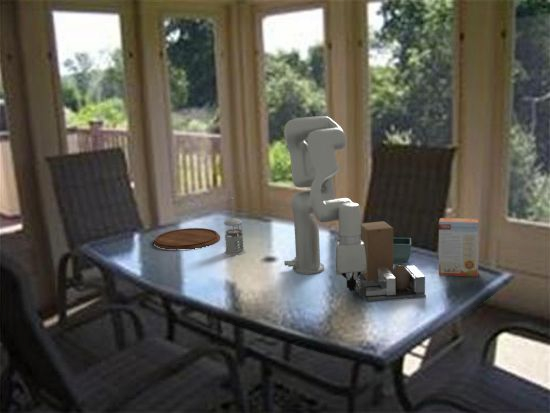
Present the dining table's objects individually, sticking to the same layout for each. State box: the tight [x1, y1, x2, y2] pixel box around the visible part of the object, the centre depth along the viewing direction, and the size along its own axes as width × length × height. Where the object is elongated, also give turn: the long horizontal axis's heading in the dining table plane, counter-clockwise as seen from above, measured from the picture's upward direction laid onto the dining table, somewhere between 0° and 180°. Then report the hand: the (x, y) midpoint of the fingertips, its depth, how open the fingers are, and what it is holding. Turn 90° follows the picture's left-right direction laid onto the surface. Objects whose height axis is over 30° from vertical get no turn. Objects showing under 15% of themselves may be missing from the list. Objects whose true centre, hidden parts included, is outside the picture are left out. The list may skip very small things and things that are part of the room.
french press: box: [223, 197, 247, 257], centre depth 267 cm, size 10×12×25 cm
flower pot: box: [393, 237, 412, 265], centre depth 243 cm, size 9×9×9 cm
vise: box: [364, 264, 427, 303], centre depth 212 cm, size 20×14×7 cm
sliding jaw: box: [354, 267, 396, 298], centre depth 212 cm, size 12×12×6 cm
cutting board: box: [153, 227, 221, 250], centre depth 291 cm, size 32×32×3 cm
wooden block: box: [360, 220, 394, 281], centre depth 227 cm, size 10×10×20 cm
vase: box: [391, 264, 410, 290], centre depth 212 cm, size 7×7×9 cm
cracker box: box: [438, 217, 480, 278], centre depth 226 cm, size 14×6×21 cm, turn 71°
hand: (351, 289), depth 212 cm, fingers closed
